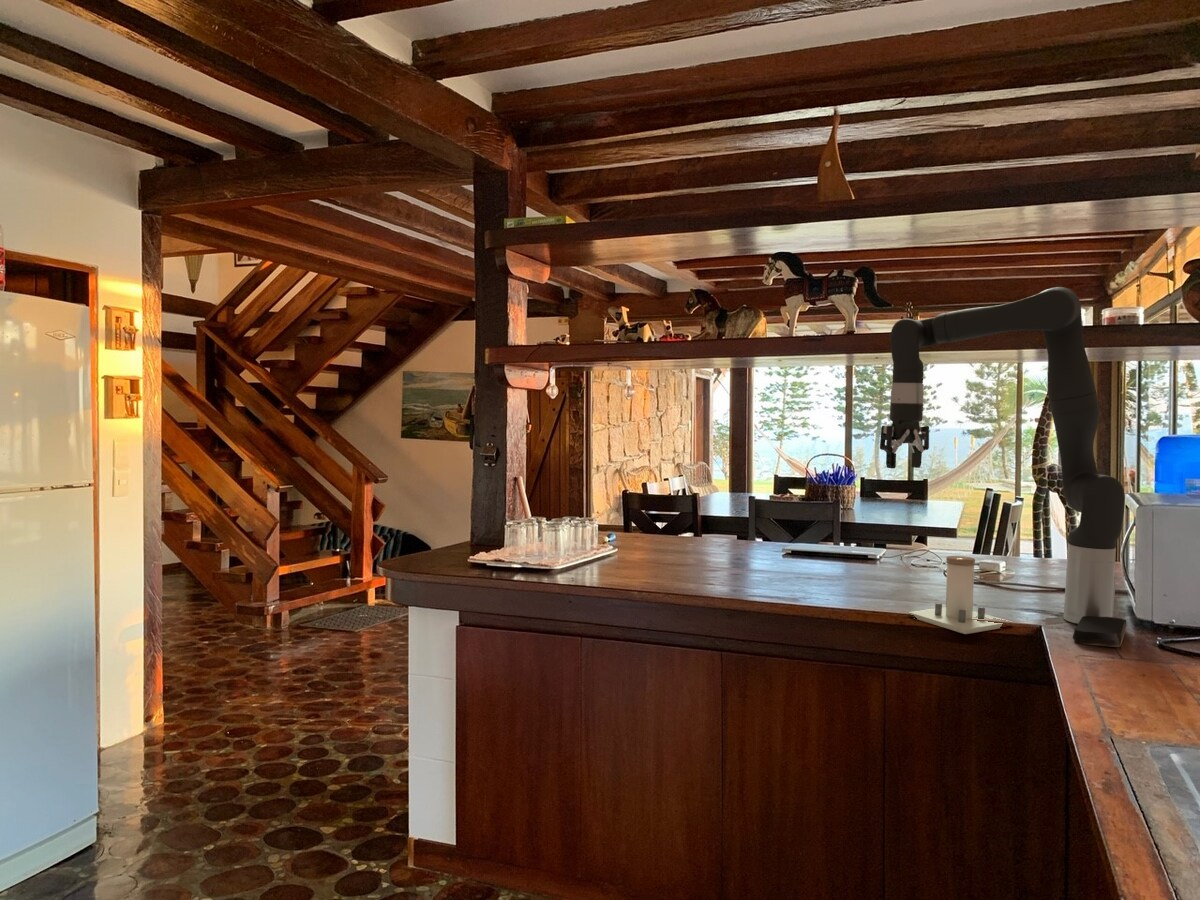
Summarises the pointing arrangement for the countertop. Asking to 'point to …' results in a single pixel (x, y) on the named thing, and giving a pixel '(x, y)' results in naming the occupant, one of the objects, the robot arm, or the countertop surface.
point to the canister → (959, 586)
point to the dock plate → (957, 620)
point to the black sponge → (1100, 631)
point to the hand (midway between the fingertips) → (903, 467)
